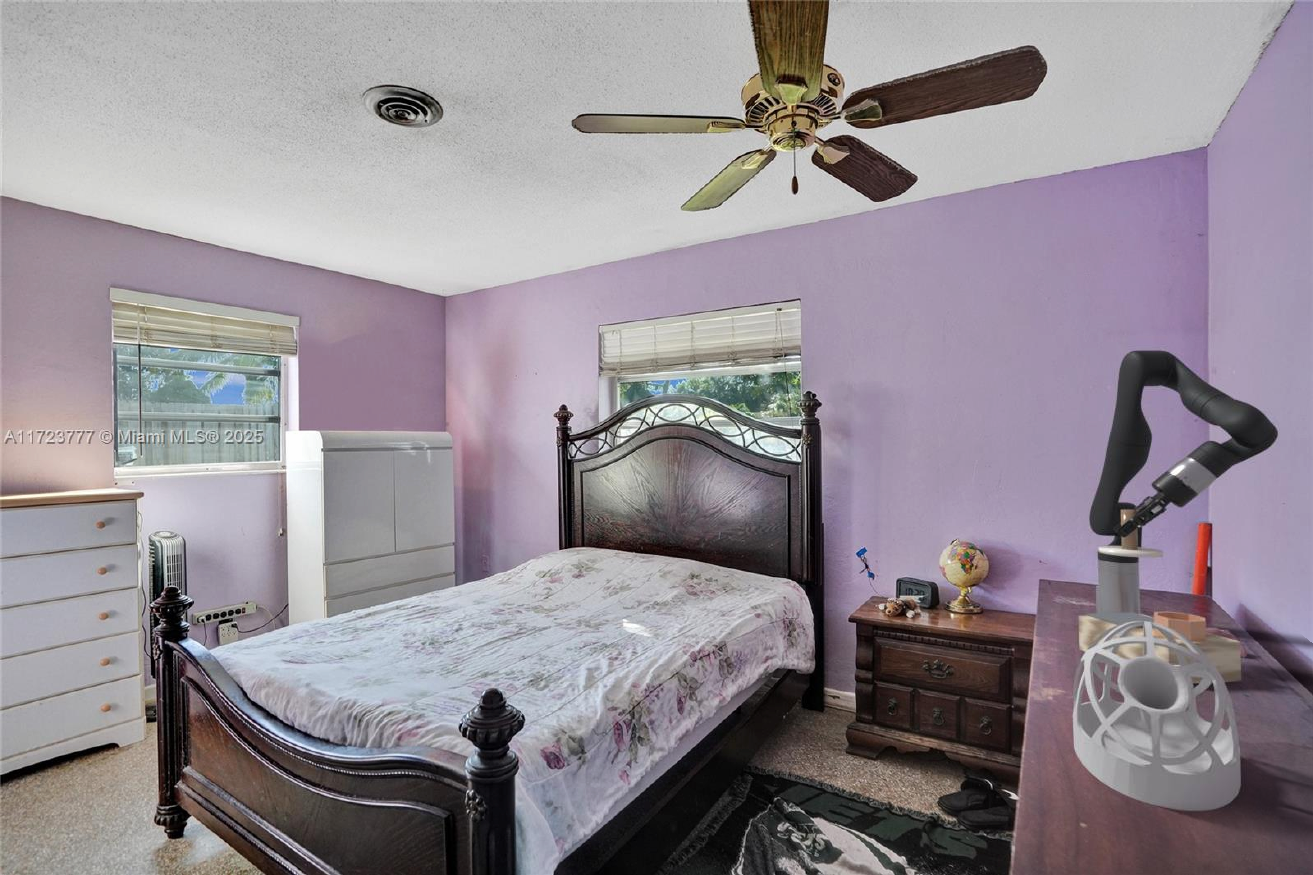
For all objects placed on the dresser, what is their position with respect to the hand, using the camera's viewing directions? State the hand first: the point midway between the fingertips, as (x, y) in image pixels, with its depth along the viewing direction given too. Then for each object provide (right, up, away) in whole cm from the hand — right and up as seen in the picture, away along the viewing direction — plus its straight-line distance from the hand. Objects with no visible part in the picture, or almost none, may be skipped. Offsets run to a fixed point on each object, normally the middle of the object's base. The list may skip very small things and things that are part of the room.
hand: (1118, 533), depth 150 cm
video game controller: (+22, -28, 0) cm, 36 cm away
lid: (+2, -4, -1) cm, 5 cm away
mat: (+2, -20, -1) cm, 20 cm away
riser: (+2, -28, -8) cm, 29 cm away
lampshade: (-34, -26, -55) cm, 70 cm away
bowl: (+3, -19, -14) cm, 24 cm away
